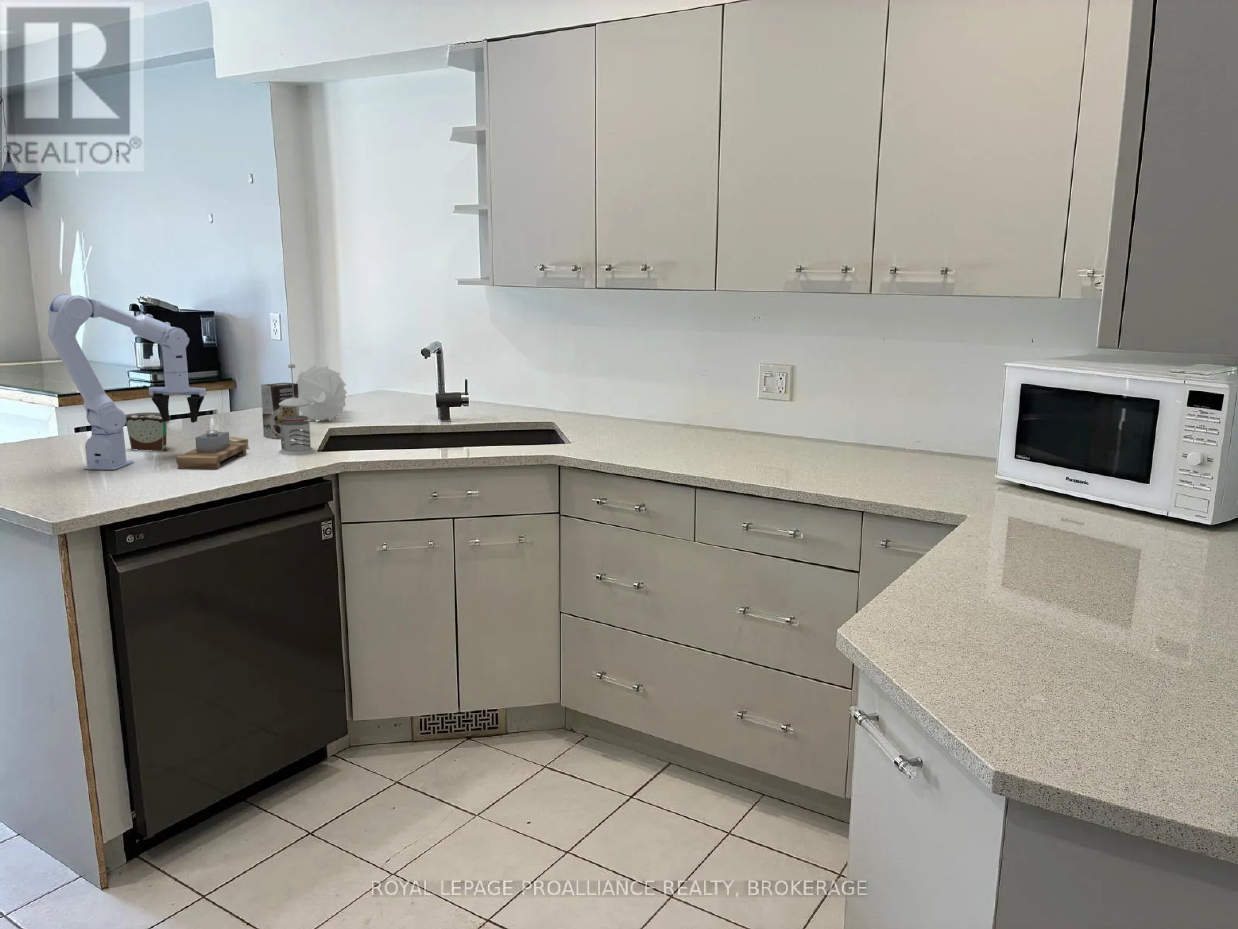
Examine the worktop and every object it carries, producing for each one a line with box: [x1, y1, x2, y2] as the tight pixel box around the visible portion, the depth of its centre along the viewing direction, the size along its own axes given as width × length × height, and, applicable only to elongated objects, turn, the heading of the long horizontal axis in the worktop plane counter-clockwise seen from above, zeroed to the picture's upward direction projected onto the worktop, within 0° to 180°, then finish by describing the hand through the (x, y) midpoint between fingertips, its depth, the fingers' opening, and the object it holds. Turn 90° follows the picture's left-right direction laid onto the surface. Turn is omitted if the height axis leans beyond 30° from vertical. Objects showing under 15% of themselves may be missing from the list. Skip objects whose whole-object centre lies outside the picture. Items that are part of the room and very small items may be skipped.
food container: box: [125, 411, 170, 452], centre depth 254 cm, size 12×6×10 cm, turn 84°
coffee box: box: [260, 382, 301, 440], centre depth 275 cm, size 9×6×16 cm
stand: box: [175, 443, 248, 470], centre depth 241 cm, size 20×10×3 cm, turn 0°
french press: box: [270, 362, 316, 456], centre depth 252 cm, size 10×12×25 cm
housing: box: [195, 429, 230, 453], centre depth 240 cm, size 9×5×5 cm, turn 0°
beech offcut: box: [229, 436, 249, 450], centre depth 257 cm, size 4×6×3 cm, turn 56°
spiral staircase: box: [295, 364, 348, 422], centre depth 309 cm, size 18×18×25 cm
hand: (180, 421), depth 245 cm, fingers open, 7 cm apart
